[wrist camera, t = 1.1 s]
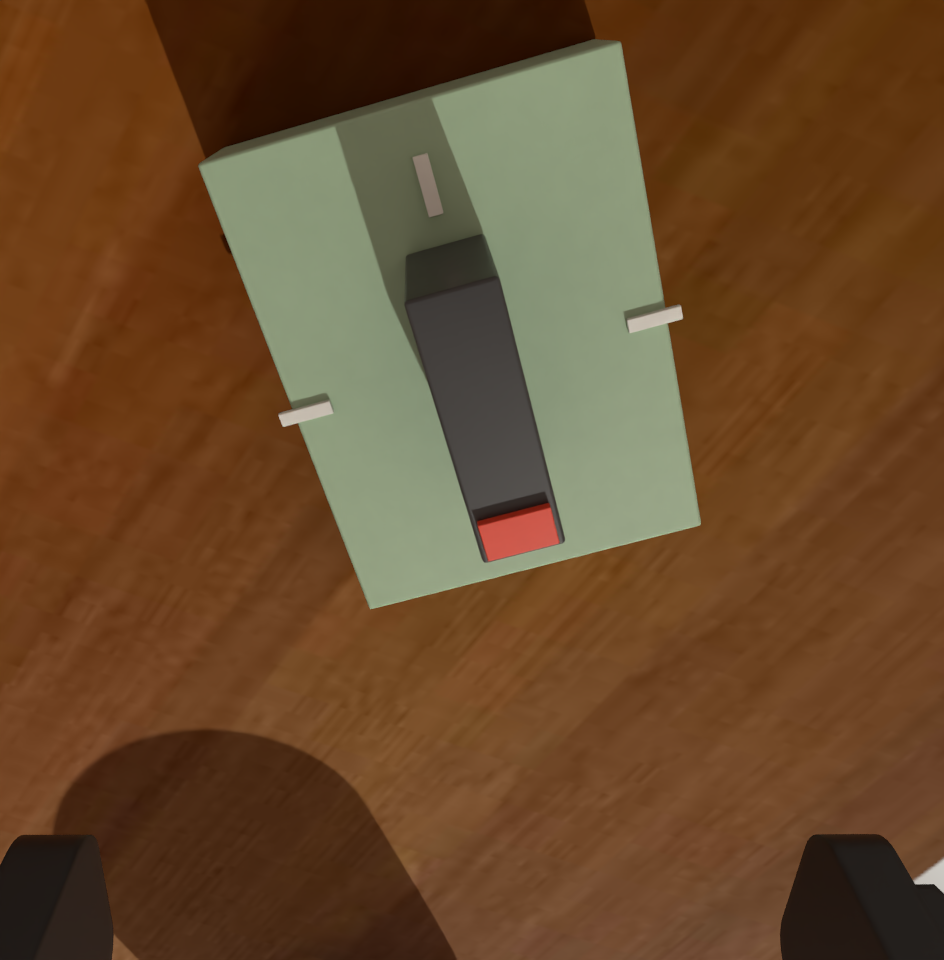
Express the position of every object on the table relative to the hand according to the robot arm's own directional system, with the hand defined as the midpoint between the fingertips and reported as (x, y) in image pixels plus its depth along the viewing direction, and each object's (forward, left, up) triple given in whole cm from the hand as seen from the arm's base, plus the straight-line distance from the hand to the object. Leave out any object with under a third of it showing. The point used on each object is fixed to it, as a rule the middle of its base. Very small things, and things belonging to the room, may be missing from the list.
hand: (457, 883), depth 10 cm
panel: (-1, +1, -18) cm, 18 cm away
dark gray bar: (-1, +1, -15) cm, 15 cm away
